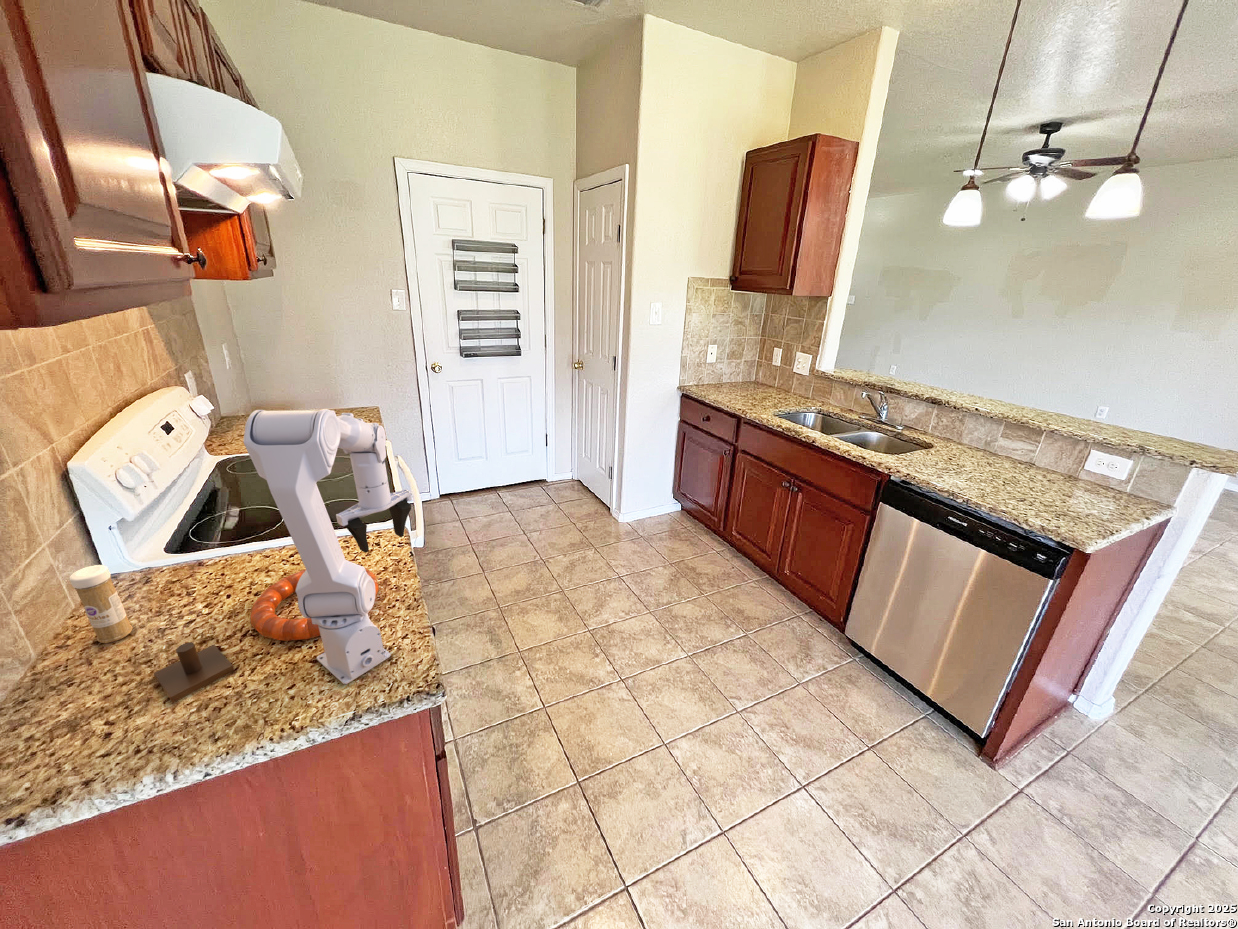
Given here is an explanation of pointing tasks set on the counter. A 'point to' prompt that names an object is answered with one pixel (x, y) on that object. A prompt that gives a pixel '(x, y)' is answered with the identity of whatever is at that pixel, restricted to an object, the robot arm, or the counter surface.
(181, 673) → the stand
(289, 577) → the ring
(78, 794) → the counter surface
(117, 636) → the sprinkles bottle
